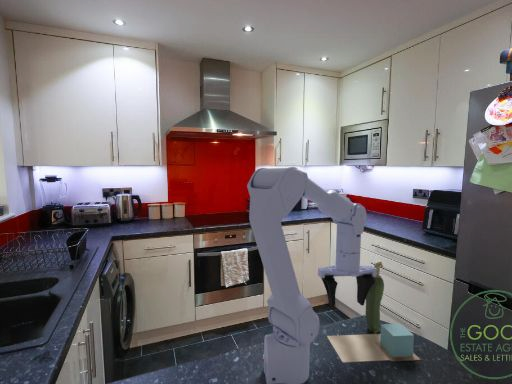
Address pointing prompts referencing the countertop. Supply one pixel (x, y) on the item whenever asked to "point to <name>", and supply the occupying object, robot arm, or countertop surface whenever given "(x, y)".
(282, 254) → the robot arm
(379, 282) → the vegetable
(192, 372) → the countertop surface
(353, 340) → the maple board
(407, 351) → the teal block
